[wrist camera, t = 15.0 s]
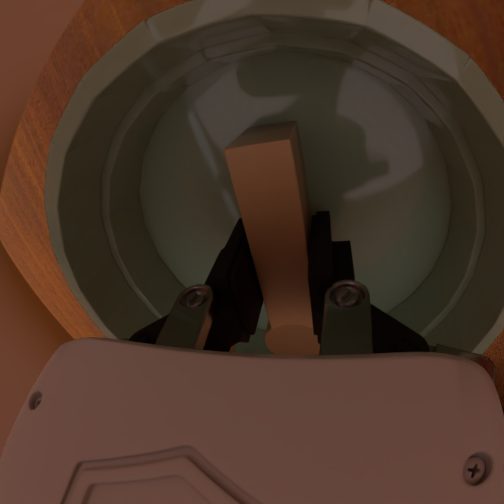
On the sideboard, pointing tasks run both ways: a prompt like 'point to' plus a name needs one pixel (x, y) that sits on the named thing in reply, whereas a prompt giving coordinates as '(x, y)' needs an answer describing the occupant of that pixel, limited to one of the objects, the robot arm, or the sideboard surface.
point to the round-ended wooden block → (277, 229)
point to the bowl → (314, 154)
